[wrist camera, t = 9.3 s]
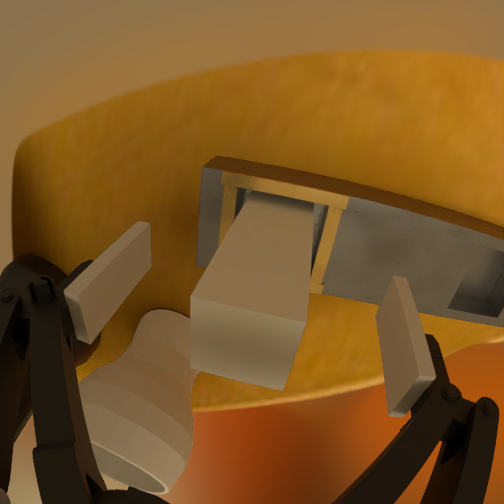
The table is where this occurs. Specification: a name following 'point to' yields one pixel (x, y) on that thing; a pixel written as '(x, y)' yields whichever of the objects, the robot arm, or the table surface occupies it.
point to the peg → (255, 293)
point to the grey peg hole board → (369, 240)
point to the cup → (144, 406)
